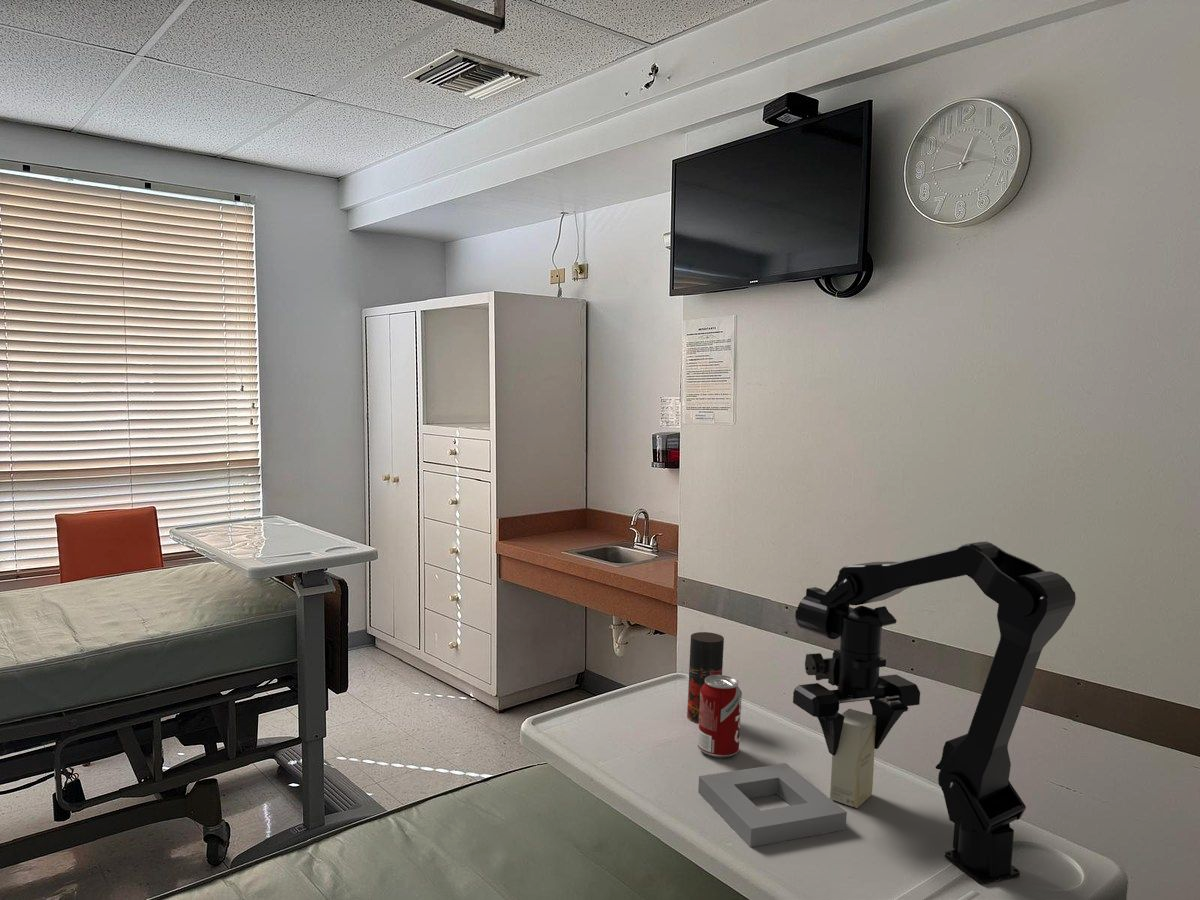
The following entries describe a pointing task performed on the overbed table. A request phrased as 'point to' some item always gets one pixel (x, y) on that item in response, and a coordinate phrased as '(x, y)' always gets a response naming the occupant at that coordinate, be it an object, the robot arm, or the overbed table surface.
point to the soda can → (719, 716)
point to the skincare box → (854, 759)
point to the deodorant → (702, 667)
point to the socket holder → (777, 824)
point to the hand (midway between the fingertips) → (853, 751)
